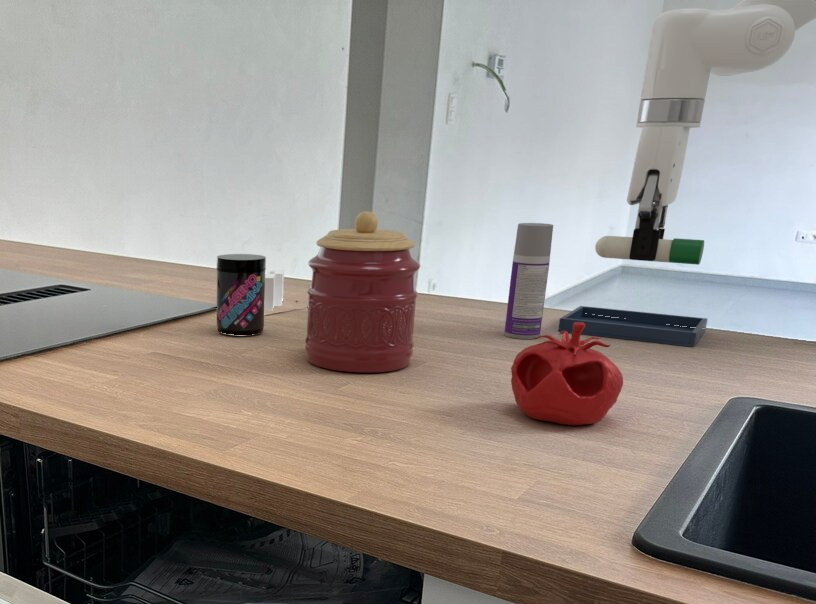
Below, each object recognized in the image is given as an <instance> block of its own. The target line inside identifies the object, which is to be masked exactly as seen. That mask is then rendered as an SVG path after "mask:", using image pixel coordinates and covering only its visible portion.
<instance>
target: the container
mask: <svg viewBox="0 0 816 604" xmlns="http://www.w3.org/2000/svg"><path fill="white" fill-rule="evenodd" d="M553 232H554V224H551V223H542V222H520V223H518V224H517V229H516V236H515V243H514V248H513V249H514V250H513V257H512V263H511V264H512V266H511V274H510V282H509V290H508V298H507V308H506V315H505V324H504V336H505V337H508V338H512V339H518V340H519V339H520V340H535V339H534V338H536V337H539V336H541V329H542V323H543V314H544V308H545V307H544V306H545V301H546V300H545V299H546V292H547V284H548V277H549V270H550V262H551V261H550V260H551V252H552V242H553Z"/></svg>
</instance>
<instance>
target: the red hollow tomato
mask: <svg viewBox="0 0 816 604" xmlns="http://www.w3.org/2000/svg"><path fill="white" fill-rule="evenodd" d="M584 328H585V324H584V323H583V322H574V323H573V332H572V333H571V337H570V336H569V333H568V332H567V331H562V332H560V333H557V335H558V336H561V340H559V339H557V338H555V337H554V336H552V335H549V334H542V335H540V336H539V337H536V338H534V339H533V340H537V339H541V338H546V339H548V340H544V341H543V342H540V343H537V344H533V345H528V346H526V347H525V348H523V349H521V350H520V351H519V352H518V353H517V354H516V355H515V357H514V360H513V363H512V365H511V367H510V371H511V379H510V384H511V390H512V394H513V396H514V401H515V403H516V405H517V407H518V408H519V410H520V411H521V412H522V413H523V414H525V415H526V416H527V417H529V418H531V419H535V420H538V421H544V422H550V423H555V424H560V425H566V426H567V425H568V426H582V425H594V424H597V423H599V422H601V421H602V420H603V419H604V418H605V416H606V415H607V414H608V412H609V411H610V410H611V409H612V408H613V406H614V405H615V404H616V403H617V401H618V398H619V395H620V394H621V392H622V388H623V386H624V376H623V374H622V372H621V370H620V369H619V367H618V366H617V365H616V364H615V363H614V362H613V361H612V360H610V358H608V356H606V355H604V353H602V352H600V351H599V350H595V349H594V348H593V347H595V346H598V347H599V346H600V347H603V348H610V347H611V344H606V343H604V342H603V341H600V339H601V338H602V337H601V336H599V337H598V336H590V337H589V338H586V339H582V340H581V335H582V334H581V333H582V331H583V329H584ZM592 340H593V341H592ZM592 348H593V349H592Z"/></svg>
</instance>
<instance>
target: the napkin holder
mask: <svg viewBox="0 0 816 604" xmlns="http://www.w3.org/2000/svg"><path fill="white" fill-rule="evenodd" d="M284 281H285V268H283V267H270V268H269V269H268V272H267V273H265V302H264V310H268V311H273V308H274V306H281V305H282V301H283V299H284V283H285V282H284Z"/></svg>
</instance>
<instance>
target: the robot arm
mask: <svg viewBox="0 0 816 604" xmlns="http://www.w3.org/2000/svg"><path fill="white" fill-rule="evenodd" d="M815 19H816V0H741V1H739V2H738V3H737V4H735V5H734V6H733V7H732V8H724V9H714V10H713V9H709V8H702V7H691V8H690V7H689V8H687V7H686V8H678V9H677V8H676V9H671V10H670V9H669V10H666V11H663V12H662V13H660V14H658V16H657V17H656V18H655V20H654V21H653V24H652V29H651V33H650V38H649V39H650V41H649V46H648V52H647V59H646V64H645V71H644V76H643V83H642V88H641V94H640V102H639V107H638V113H637V117H636V118H637V120H636V124H635V127H636V128H642V130H641V133H640V136H639V140H638V145H637V149H636V154H635V158H634V163H633V168H632V172H631V177H630V182H629V187H628V191H627V195H626V196H627V197H626V202H627V204H628V205H629V206H634V205H635V206H636V205H638V209H637V215H636V219H635V220H636V221H635V225H634V229H633V232H632V237H633V238H632V244H631V250H630V256H629V258H630V259H631V260H630V261H643V262H655V261H654V260H655V259H656V253H657V248H658V242H659V239H664V237H665V231H666V228H665V225H666V219H667V214H668V208H669V205H671V204H673V203H675V201H676V199H677V196H678V191H679V187H680V183H681V178H682V175H683V174H682V173H683V169H684V163H685V158H686V153H687V147H688V141H689V135H690V130H691V129H692V128H700V127H701V123H702V117H703V112H704V107H705V102H706V95H707V91H708V85H709V80H710V75H711V74H713V75H715V76H719V77H731V76H736V75H741V74H747V73H754V72H758V71H760V70H764V69H767V68H768V67H770V66H772V65H774V64H775V63H777V62H778V61H780V60H781V59H782V58H783V57H784V56H785V55H786V54H787V52H788V51H789V49H790V48H791V46H792V44H793V42H794V40H795V35H796V31H797V30H799V29H801V28H802V27H804V26H806V25H807V24H809V23H810V22H812V21H813V20H815ZM690 128H691V129H690Z"/></svg>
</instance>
